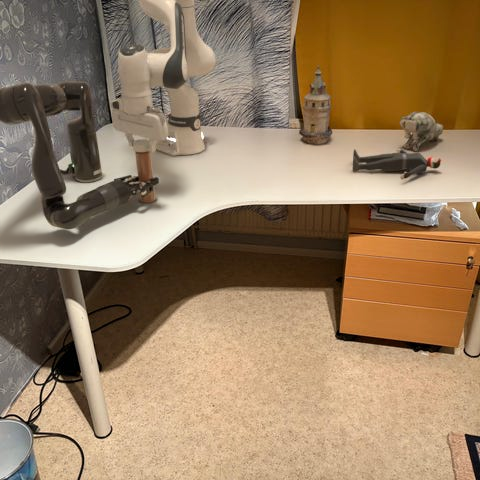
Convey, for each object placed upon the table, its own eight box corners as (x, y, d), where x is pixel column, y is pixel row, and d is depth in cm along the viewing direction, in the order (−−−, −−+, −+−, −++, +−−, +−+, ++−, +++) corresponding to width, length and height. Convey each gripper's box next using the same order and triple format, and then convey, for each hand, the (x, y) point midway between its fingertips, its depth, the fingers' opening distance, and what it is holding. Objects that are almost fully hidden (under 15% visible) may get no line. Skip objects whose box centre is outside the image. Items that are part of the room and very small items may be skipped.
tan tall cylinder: (154, 202, 171) (149, 147, 162) (140, 203, 170) (133, 147, 161) (155, 196, 175) (150, 142, 166) (141, 196, 174) (135, 142, 165)
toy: (354, 141, 202) (437, 142, 196) (353, 157, 206) (435, 158, 199) (352, 166, 180) (446, 168, 174) (351, 183, 183) (444, 186, 177)
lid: (144, 145, 167) (144, 137, 166) (154, 149, 164) (154, 142, 163) (130, 149, 164) (129, 142, 163) (140, 153, 161) (139, 146, 160)
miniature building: (320, 132, 228) (325, 59, 214) (338, 142, 217) (344, 66, 203) (293, 137, 224) (296, 63, 209) (310, 147, 213) (314, 69, 198)
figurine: (429, 162, 206) (454, 135, 215) (417, 119, 197) (443, 93, 206) (407, 162, 213) (432, 135, 222) (394, 121, 204) (421, 95, 213)
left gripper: (124, 190, 154) (167, 172, 165) (93, 178, 162) (136, 162, 173) (127, 213, 158) (169, 194, 169) (96, 201, 165) (138, 183, 177)
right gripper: (171, 107, 154) (174, 152, 161) (122, 97, 165) (127, 140, 172) (155, 112, 150) (160, 159, 157) (106, 101, 160) (112, 145, 167)
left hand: (152, 178), depth 171 cm, fingers closed on tan tall cylinder, 4 cm apart
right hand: (142, 149), depth 164 cm, fingers open, 7 cm apart
